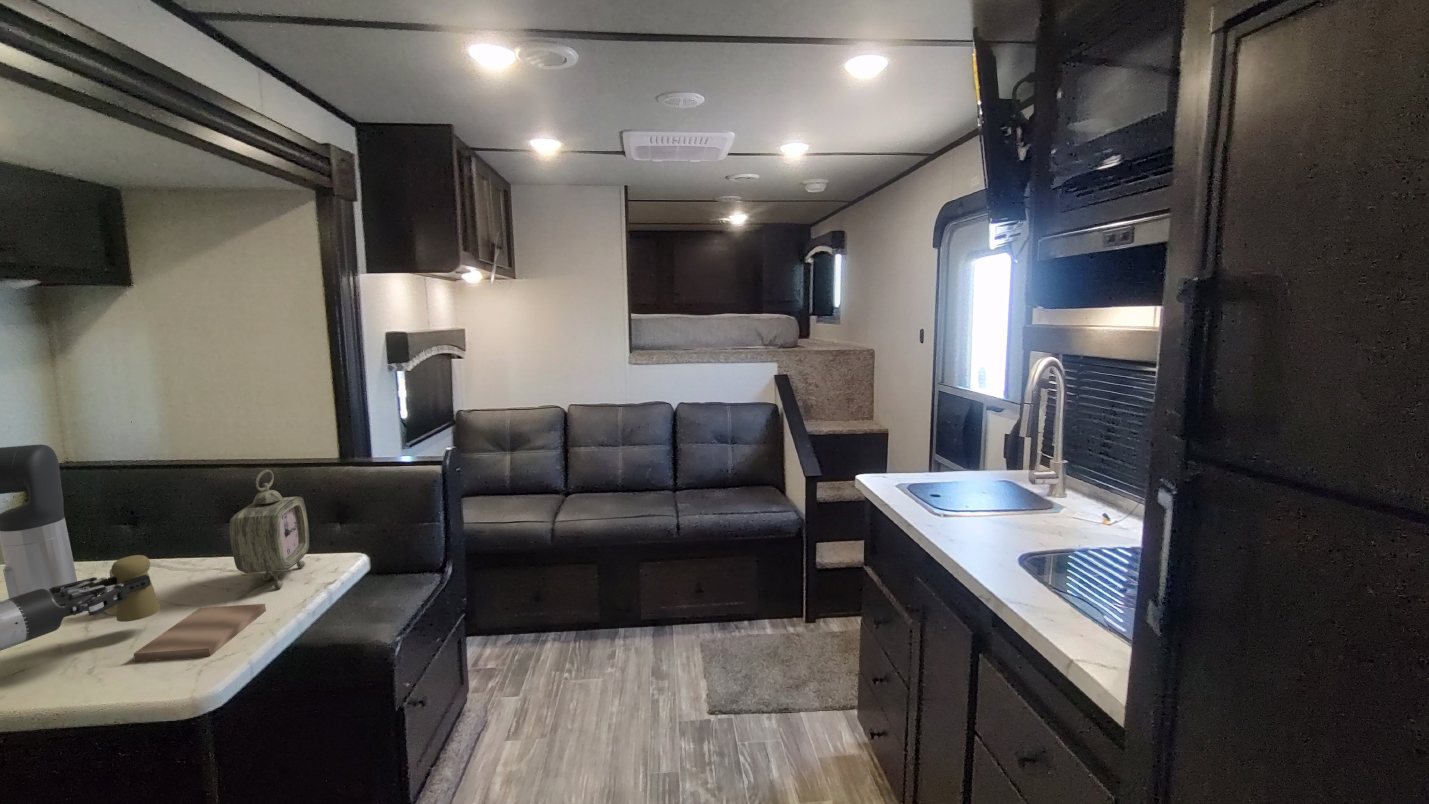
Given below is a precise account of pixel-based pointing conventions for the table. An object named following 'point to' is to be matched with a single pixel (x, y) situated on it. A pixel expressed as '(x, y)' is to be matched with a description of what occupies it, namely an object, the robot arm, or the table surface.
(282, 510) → the tabletop clock
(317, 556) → the table surface
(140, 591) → the cork
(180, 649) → the walnut board
